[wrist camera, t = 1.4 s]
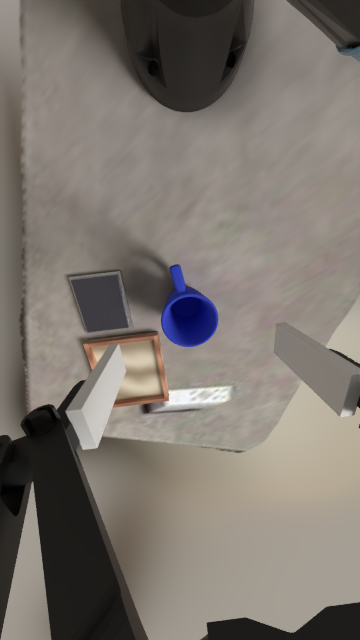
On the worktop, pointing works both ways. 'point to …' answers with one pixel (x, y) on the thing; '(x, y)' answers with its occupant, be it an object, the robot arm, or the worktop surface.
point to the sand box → (135, 367)
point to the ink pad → (102, 301)
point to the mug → (188, 314)
